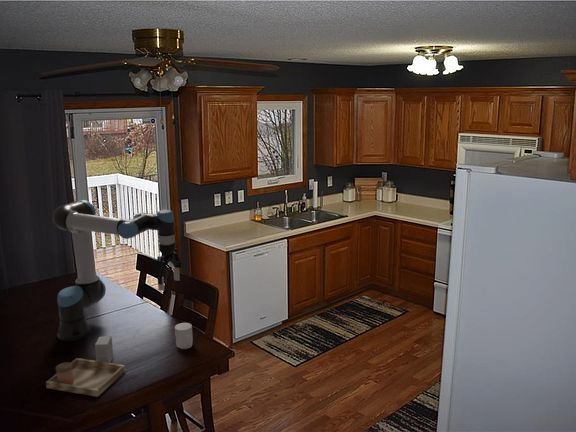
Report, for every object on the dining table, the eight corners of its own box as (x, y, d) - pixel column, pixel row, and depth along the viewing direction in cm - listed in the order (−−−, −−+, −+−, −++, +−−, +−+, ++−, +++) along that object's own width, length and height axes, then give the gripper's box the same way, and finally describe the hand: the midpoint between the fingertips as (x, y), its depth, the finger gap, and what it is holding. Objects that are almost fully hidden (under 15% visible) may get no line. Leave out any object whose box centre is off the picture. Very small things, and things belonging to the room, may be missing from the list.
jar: (54, 386, 218) (52, 369, 216) (64, 378, 224) (62, 361, 222) (67, 388, 216) (65, 371, 214) (77, 380, 222) (75, 363, 220)
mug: (172, 324, 254) (188, 320, 258) (173, 341, 257) (189, 338, 260) (179, 334, 244) (196, 330, 248) (180, 352, 246) (197, 349, 250)
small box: (101, 357, 243) (99, 336, 240) (113, 356, 243) (111, 335, 240) (96, 366, 235) (94, 344, 232) (109, 365, 235) (107, 344, 233)
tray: (46, 389, 217) (45, 382, 216) (77, 365, 236) (76, 357, 235) (98, 398, 211) (97, 390, 210) (125, 372, 230) (125, 365, 229)
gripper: (159, 251, 238) (161, 295, 243) (187, 236, 261) (189, 277, 266) (144, 249, 241) (147, 293, 246) (174, 235, 263) (176, 275, 269)
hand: (169, 285), depth 256 cm, fingers open, 13 cm apart
